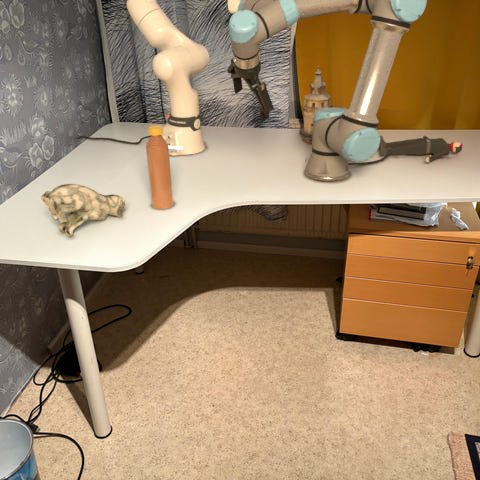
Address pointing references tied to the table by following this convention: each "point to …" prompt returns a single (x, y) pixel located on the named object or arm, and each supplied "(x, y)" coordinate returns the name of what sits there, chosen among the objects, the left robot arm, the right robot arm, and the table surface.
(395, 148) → the toy
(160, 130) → the cap
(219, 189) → the table surface
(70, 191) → the figurine
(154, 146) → the bottle
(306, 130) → the miniature building
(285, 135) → the table surface
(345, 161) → the right robot arm
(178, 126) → the left robot arm
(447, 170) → the table surface
